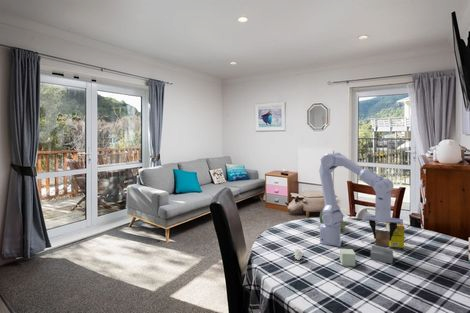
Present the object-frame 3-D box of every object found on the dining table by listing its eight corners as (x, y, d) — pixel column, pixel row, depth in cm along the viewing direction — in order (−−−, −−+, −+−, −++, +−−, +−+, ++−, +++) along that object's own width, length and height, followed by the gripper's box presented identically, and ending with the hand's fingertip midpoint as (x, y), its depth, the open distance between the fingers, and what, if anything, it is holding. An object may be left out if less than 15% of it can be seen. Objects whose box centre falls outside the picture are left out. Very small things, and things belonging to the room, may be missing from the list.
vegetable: (343, 230, 143) (317, 215, 149) (337, 240, 153) (312, 225, 159) (352, 213, 150) (327, 199, 155) (345, 224, 159) (321, 210, 165)
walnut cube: (375, 244, 114) (376, 233, 114) (375, 240, 118) (375, 229, 118) (389, 246, 112) (389, 235, 111) (388, 242, 116) (388, 231, 116)
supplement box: (404, 249, 124) (404, 226, 123) (390, 248, 125) (390, 225, 124) (399, 244, 130) (399, 222, 129) (385, 243, 131) (386, 221, 130)
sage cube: (342, 265, 110) (342, 253, 109) (339, 260, 115) (339, 248, 114) (355, 266, 109) (355, 254, 108) (352, 260, 114) (352, 249, 113)
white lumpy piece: (296, 253, 122) (296, 244, 122) (312, 259, 117) (312, 250, 116) (284, 260, 116) (284, 250, 116) (301, 266, 110) (301, 256, 110)
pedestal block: (370, 260, 114) (370, 252, 114) (372, 253, 121) (372, 245, 121) (392, 264, 110) (392, 256, 110) (392, 256, 117) (392, 249, 117)
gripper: (363, 208, 114) (363, 239, 115) (404, 211, 107) (403, 245, 108) (364, 204, 120) (363, 234, 121) (402, 207, 114) (401, 239, 115)
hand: (382, 239), depth 115 cm, fingers closed on walnut cube, 5 cm apart
